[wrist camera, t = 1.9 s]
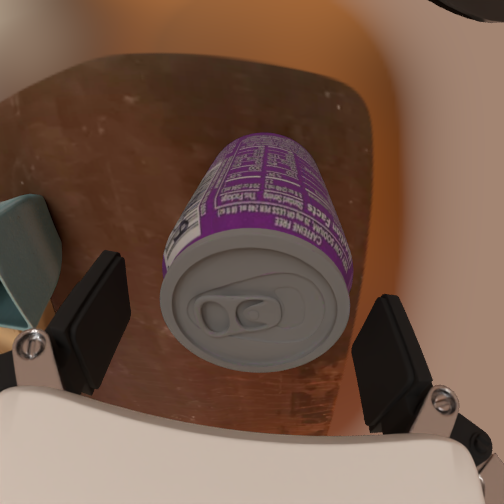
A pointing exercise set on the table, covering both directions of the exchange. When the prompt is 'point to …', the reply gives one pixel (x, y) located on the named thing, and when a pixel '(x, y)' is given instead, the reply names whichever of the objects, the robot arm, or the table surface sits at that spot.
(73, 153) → the table surface
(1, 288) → the flower pot
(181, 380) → the table surface
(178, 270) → the beverage can
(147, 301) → the table surface
